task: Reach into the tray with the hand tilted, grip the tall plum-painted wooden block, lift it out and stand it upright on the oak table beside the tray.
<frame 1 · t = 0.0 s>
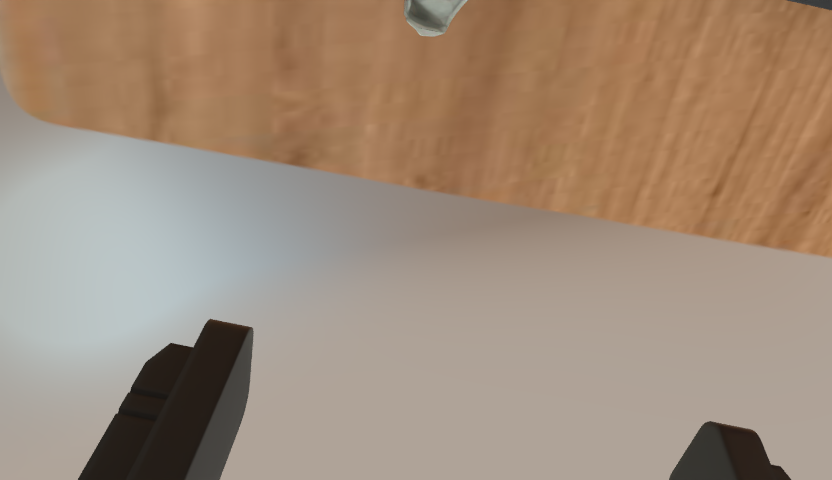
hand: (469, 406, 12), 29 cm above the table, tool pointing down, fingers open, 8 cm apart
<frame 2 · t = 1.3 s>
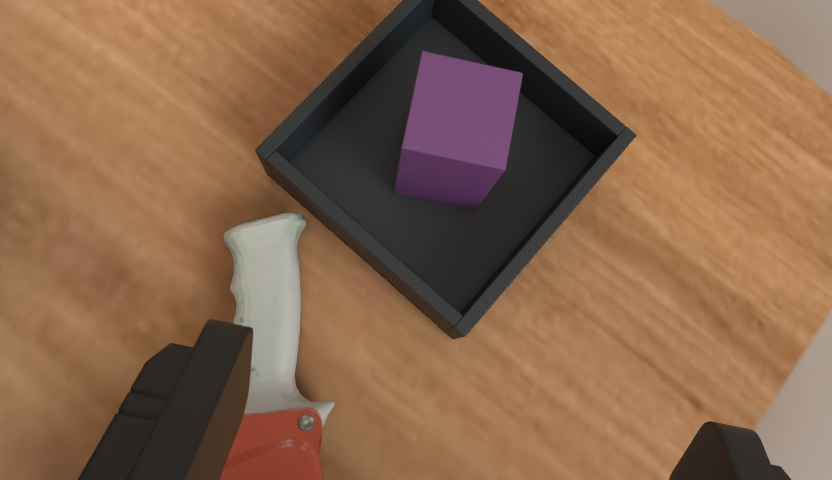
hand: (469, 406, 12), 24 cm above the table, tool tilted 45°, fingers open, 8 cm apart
tape dispenser: (259, 452, 35), on the table
plum block: (442, 162, 37), point 1 cm above the table, touching tray
tray: (440, 166, 38), on the table
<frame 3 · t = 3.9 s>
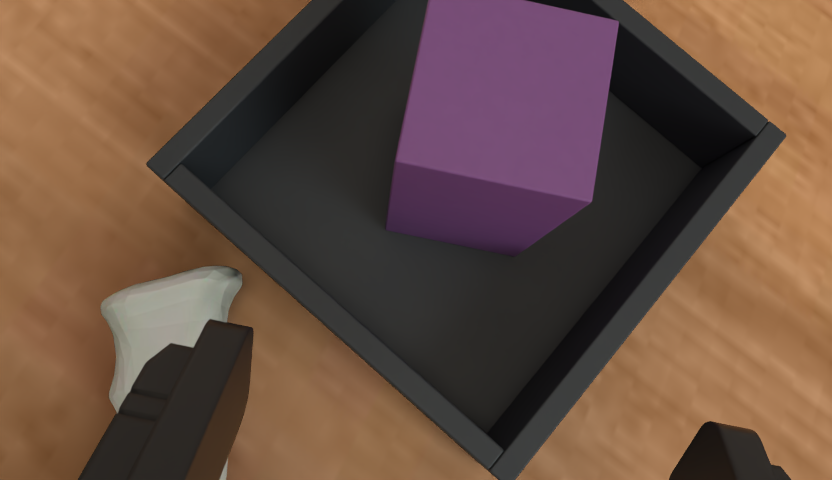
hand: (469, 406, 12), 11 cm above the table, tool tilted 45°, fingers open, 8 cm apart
plum block: (462, 180, 24), point 1 cm above the table, touching tray
tray: (459, 186, 24), on the table
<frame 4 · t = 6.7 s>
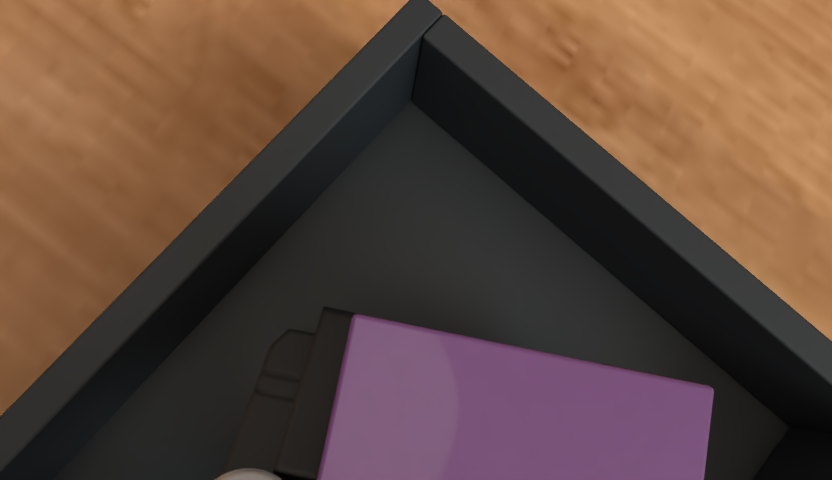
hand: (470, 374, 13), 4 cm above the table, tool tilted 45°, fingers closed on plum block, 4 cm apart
plum block: (434, 455, 16), point 1 cm above the table, touching tray, gripper
tray: (431, 451, 17), on the table
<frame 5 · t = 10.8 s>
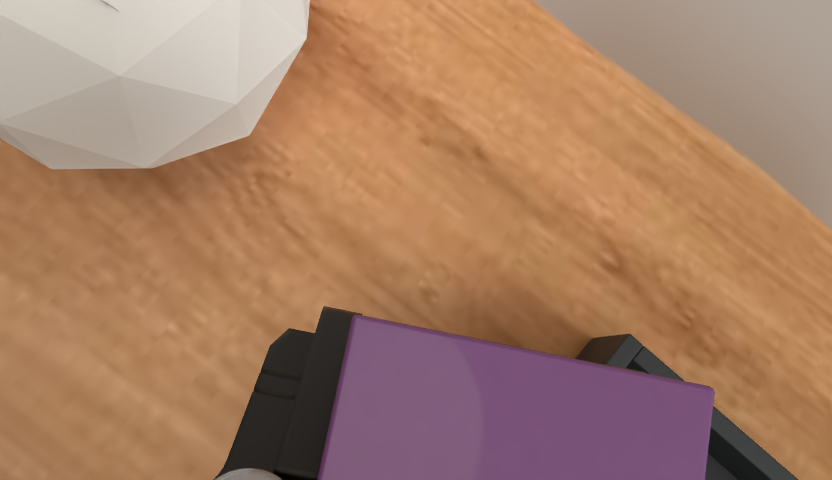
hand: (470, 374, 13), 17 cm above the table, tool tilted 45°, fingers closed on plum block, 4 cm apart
plum block: (435, 455, 16), point 13 cm above the table, touching gripper
geodesic sphere: (167, 60, 31), on the table
when the fingers open (3 cm above the table, at t = 15.1 s): plum block stays where it is, on the table.
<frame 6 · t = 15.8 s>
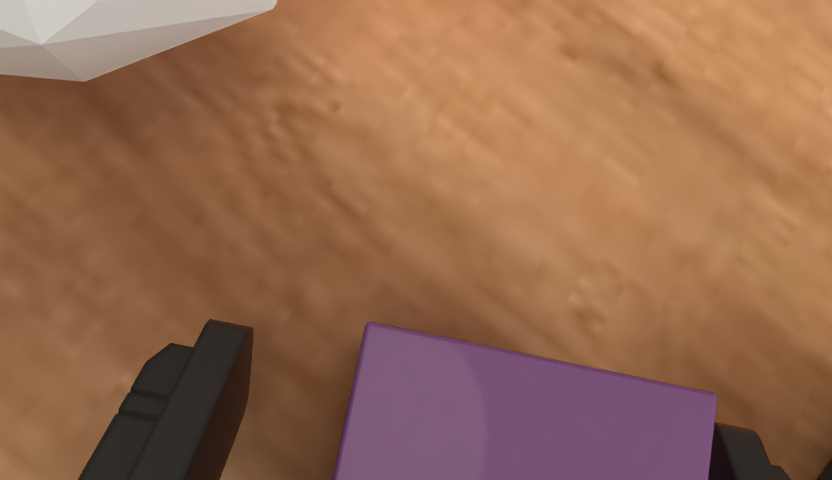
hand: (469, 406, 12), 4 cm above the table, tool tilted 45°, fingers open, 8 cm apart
plum block: (441, 458, 16), on the table
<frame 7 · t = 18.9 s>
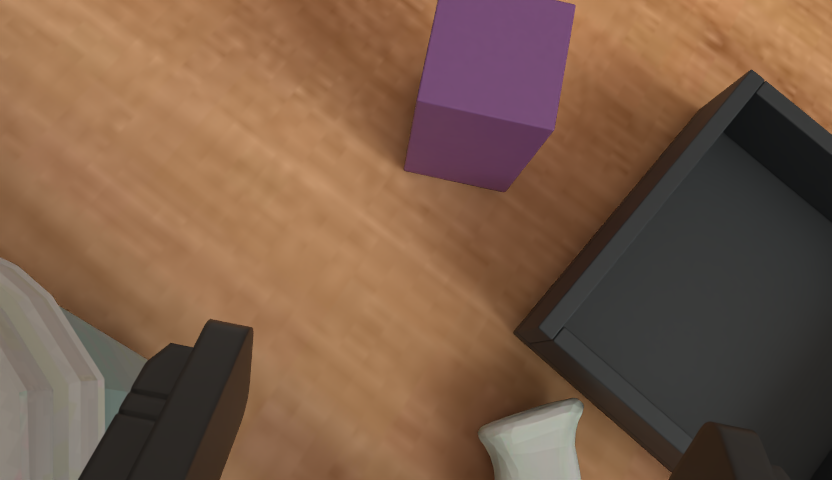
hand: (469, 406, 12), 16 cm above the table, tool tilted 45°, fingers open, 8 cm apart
disposable coffee cup: (90, 424, 27), on the table
plum block: (464, 133, 30), on the table
tray: (730, 319, 30), on the table
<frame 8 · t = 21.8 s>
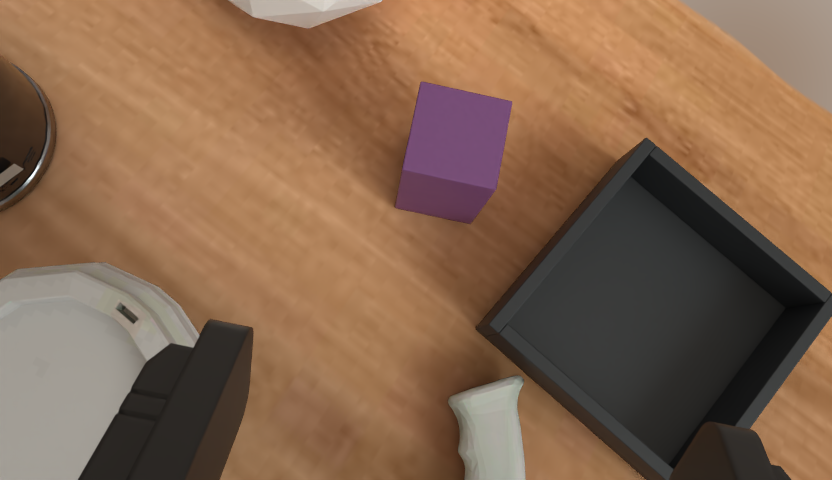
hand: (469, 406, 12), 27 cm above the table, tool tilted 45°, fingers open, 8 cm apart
disposable coffee cup: (166, 394, 38), on the table
plum block: (440, 179, 41), on the table
tray: (637, 318, 40), on the table
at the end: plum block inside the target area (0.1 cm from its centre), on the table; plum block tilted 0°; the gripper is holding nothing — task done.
